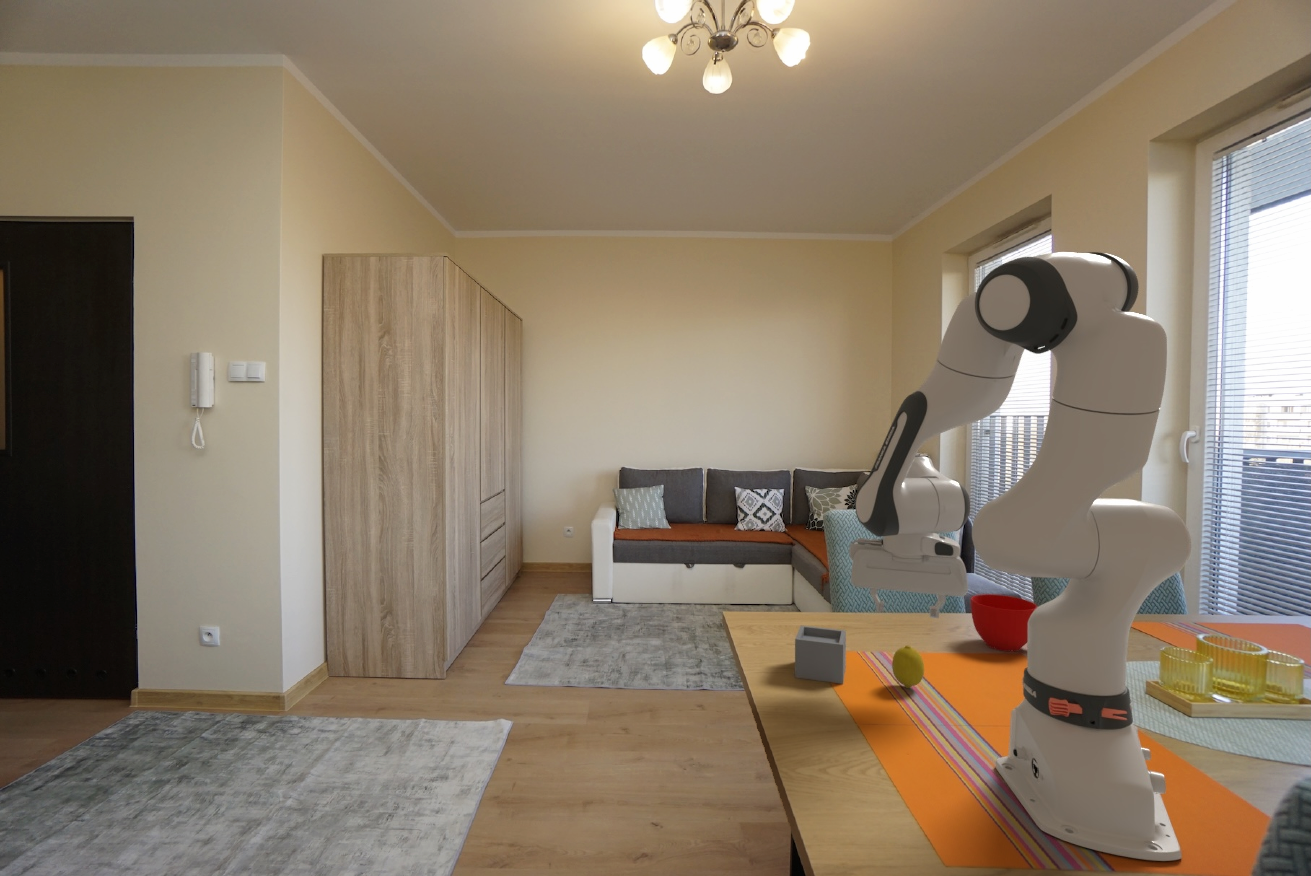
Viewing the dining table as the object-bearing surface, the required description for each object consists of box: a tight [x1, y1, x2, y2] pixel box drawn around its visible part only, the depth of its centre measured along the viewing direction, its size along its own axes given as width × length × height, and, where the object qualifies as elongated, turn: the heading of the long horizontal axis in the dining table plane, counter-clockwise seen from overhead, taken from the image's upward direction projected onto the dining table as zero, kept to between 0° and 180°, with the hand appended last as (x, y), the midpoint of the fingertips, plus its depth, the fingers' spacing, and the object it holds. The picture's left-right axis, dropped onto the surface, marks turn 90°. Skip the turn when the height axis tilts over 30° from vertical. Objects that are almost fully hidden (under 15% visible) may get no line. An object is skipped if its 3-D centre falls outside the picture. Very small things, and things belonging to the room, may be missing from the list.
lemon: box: [891, 645, 925, 689], centre depth 112 cm, size 6×6×8 cm
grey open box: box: [794, 625, 847, 685], centre depth 120 cm, size 9×9×8 cm
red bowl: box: [970, 594, 1038, 652], centre depth 134 cm, size 13×17×10 cm
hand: (906, 614), depth 113 cm, fingers open, 8 cm apart
